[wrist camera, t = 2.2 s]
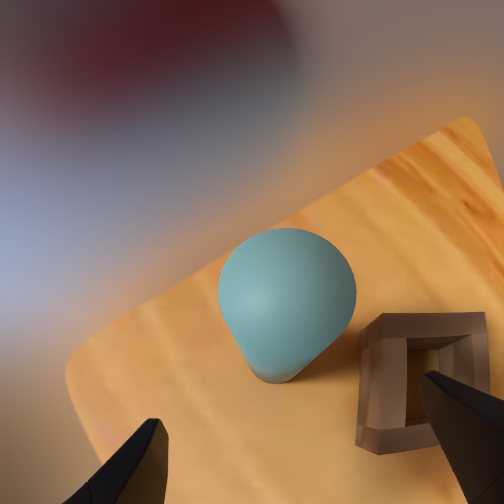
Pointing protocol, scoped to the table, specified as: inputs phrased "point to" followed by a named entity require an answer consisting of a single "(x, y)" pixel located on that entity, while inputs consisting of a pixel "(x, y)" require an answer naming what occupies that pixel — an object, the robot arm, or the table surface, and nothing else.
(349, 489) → the table surface
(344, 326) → the teal cylinder rod
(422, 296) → the table surface
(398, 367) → the hole block
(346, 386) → the table surface
